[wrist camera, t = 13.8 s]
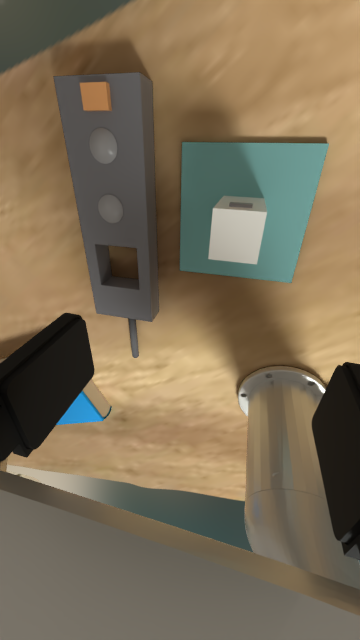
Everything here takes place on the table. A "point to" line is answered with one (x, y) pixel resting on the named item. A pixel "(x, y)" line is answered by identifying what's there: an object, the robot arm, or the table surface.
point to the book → (86, 406)
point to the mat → (249, 181)
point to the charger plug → (237, 229)
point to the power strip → (114, 185)
